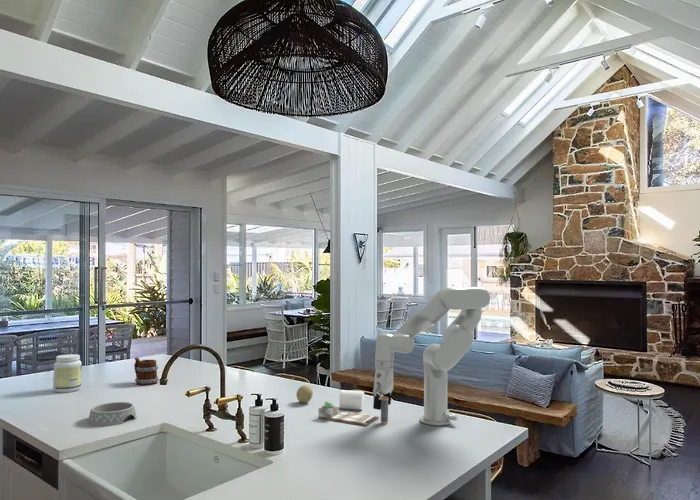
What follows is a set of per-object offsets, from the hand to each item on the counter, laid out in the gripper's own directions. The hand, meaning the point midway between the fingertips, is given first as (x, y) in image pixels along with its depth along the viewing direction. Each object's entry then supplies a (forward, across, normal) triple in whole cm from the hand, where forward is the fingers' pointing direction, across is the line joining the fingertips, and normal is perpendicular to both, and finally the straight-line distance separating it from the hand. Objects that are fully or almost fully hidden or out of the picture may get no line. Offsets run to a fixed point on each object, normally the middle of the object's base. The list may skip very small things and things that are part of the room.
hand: (382, 406), depth 213 cm
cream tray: (+7, -1, +14) cm, 16 cm away
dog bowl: (+12, -49, +97) cm, 109 cm away
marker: (+7, +1, -1) cm, 7 cm away
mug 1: (+11, +3, +137) cm, 138 cm away
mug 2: (+7, +15, +20) cm, 27 cm away
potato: (+8, +11, +43) cm, 46 cm away
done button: (+4, -4, +23) cm, 23 cm away
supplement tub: (+13, -27, +157) cm, 160 cm away
